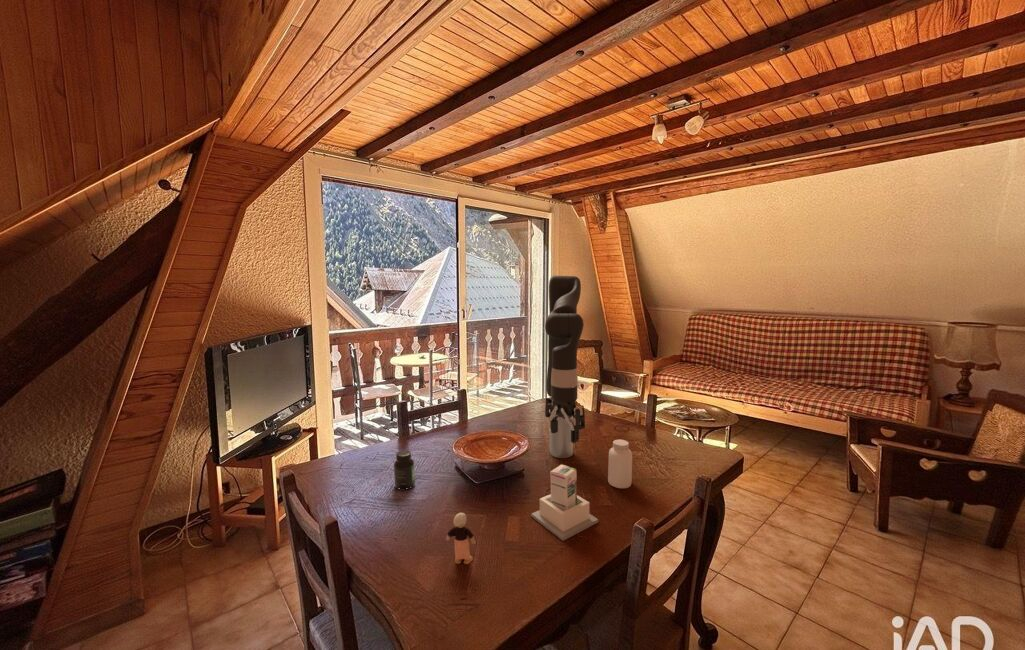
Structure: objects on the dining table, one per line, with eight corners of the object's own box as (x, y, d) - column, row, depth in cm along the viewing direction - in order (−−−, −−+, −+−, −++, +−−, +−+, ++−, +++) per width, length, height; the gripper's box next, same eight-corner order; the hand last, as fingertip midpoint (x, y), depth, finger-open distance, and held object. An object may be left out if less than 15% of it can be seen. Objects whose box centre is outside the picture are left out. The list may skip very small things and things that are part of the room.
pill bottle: (632, 490, 136) (633, 447, 134) (608, 488, 137) (608, 446, 136) (630, 478, 144) (631, 438, 142) (607, 476, 145) (608, 436, 143)
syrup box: (567, 524, 116) (567, 476, 114) (550, 516, 120) (550, 470, 118) (577, 514, 121) (577, 468, 119) (560, 508, 124) (560, 463, 123)
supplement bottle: (418, 485, 141) (417, 452, 140) (401, 493, 136) (400, 459, 135) (408, 478, 146) (406, 447, 144) (391, 486, 141) (389, 453, 139)
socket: (531, 516, 122) (531, 498, 121) (565, 501, 130) (565, 483, 129) (562, 540, 110) (562, 520, 110) (598, 522, 118) (598, 503, 118)
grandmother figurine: (476, 554, 105) (475, 509, 104) (476, 564, 102) (474, 517, 100) (447, 555, 105) (445, 510, 104) (445, 565, 101) (443, 518, 100)
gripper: (538, 380, 119) (538, 432, 121) (572, 390, 107) (571, 449, 109) (557, 376, 123) (557, 427, 125) (591, 386, 111) (591, 442, 113)
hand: (564, 437), depth 117 cm, fingers open, 8 cm apart
